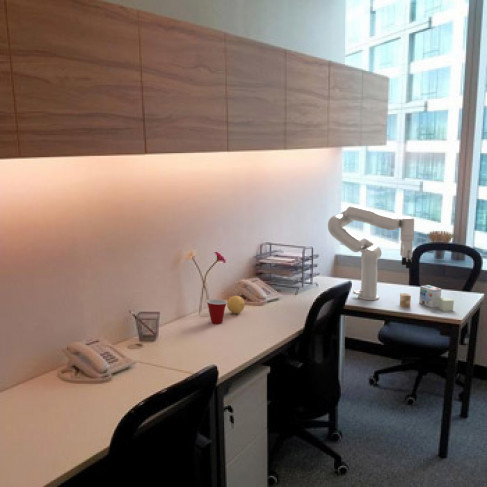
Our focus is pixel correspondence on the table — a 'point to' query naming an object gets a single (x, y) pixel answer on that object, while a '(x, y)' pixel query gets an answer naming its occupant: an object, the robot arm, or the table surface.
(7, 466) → the table surface
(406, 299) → the oak block
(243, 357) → the table surface
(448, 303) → the sage cube
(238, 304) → the stress ball
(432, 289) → the light bulb box
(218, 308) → the plastic cup
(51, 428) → the table surface
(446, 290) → the table surface
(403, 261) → the robot arm
